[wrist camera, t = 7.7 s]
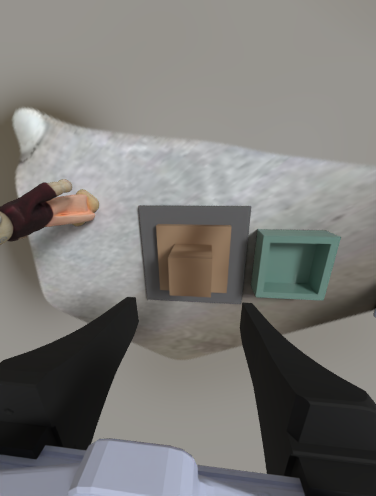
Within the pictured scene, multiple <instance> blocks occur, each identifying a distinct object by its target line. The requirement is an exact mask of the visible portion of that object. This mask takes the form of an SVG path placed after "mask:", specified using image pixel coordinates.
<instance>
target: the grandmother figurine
mask: <svg viewBox="0 0 376 496" xmlns="http://www.w3.org/2000/svg"><path fill="white" fill-rule="evenodd" d="M71 190H72V184H71V182H69V181H68V180H66V179H62V180H59V181H58V182H51V183H41V184H40V185H38V186H37V187H35V188H34V189H32V190H31V191H29V192H28V193H26V194H24V195H23V196H22V197H20V198H18V199H16V200H13V201H11V202H8V203H6V204H4V205H3V206H1V207H0V245H1V244H3V243H5V242H6V241H16V240H18V239H23V238H26V237H27V236H28V235H30V234H31V233H33V232H35V231H38V230H40V229H42V228H44V227H51V226H58V225H66V224H72V225H74V226H81V225H83V224H84V223H85V222H87V221H91V220H93V219H94V217H95V213H94V212H96V210H97V209H98V208H99V202H98V200H97V199H96V198H95V197H94V196H93V195H91V194H90V193H89V192H87V191H86V190H83V189H81V190H79V191H78V192H77V193H76V195H68V196H61V197H57V196H59V195H61V194H62V193H66V192H70V191H71ZM55 197H57V198H55Z"/></svg>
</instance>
